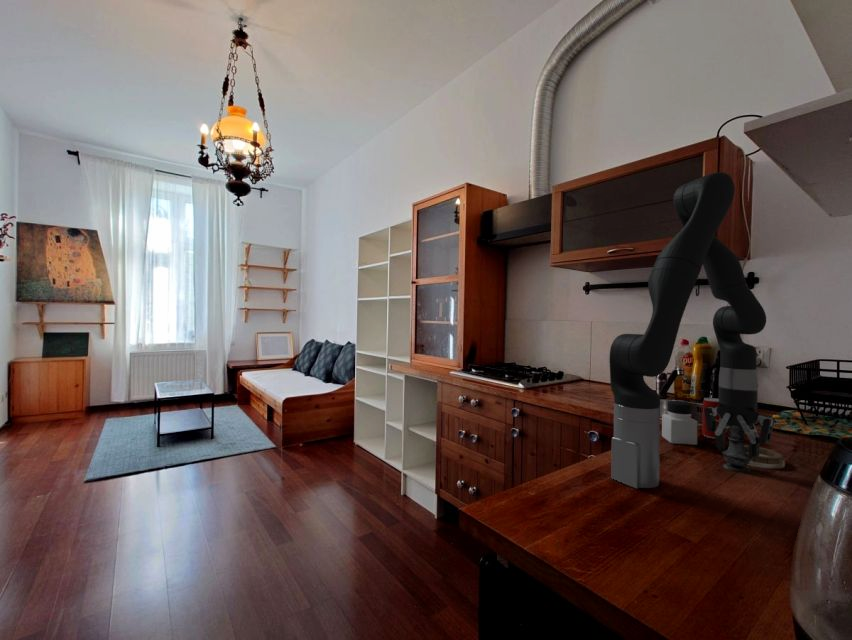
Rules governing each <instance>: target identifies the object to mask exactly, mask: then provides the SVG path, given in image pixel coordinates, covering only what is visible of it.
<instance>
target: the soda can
mask: <svg viewBox="0 0 852 640" xmlns="http://www.w3.org/2000/svg"><path fill="white" fill-rule="evenodd" d="M718 406H719V398H716V397H715V398H714V397H704V398H703V402H702V425H701V426H702V430H701V432H702V435H703V436H704V437H705V436H706V437H705V438H709V439H715V440H716V435H715V433H713V432H711V431H708V430H707V425H706V419H705V412H704V409H705V408H707V407H713V408H717V407H718ZM715 419H716V426H717V428H718V425H719V423H720V422H721V420H722V418H721V417H720V415H719V414H718V413H717V415H716V416H715Z"/></svg>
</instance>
